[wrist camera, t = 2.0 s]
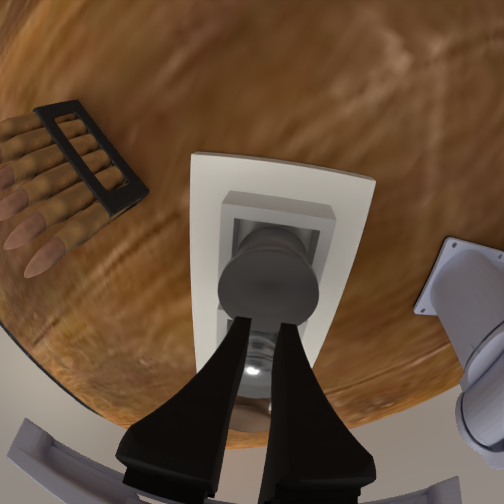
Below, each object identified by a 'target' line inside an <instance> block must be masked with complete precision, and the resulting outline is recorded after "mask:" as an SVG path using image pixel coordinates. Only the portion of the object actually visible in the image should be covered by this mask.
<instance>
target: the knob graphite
mask: <svg viewBox="0 0 504 504" xmlns="http://www.w3.org/2000/svg"><path fill="white" fill-rule="evenodd" d="M218 298H219V301H220V304H221V306H222V308H223V310H224V311H225V312H226V314H227V315H228V316H229V317H230V318H232V319H233V320H234V318H235V317H237V316H240V317H246V318H252V321H251V328H250V329H252V330H255V331H260V332H279V330H280V326H281V323H289V324H296V325H297V326H299V325H301V324H302V323H304V322H305V321H306V320H307V319H308V318H310V316H311V315H312V314H313V313H314V311H315V309H316V307H317V305H318V301H319V287H318V280H317V276H316V274H315V271H314V269H313V268H312V266H311V265H310V264H309V263H308V257H307V251H306V248H305V246H304V244H303V243H302V241H301V240H300V239H299V238H298V237H297V236H296V235H295V234H293V233H292V232H290V231H288V230H285V229H282V228H278V227H265V228H260V229H257V230H255V231H253V232H251V233H249V234H248V235H247V236H246V237H245V238H244V239H243V240H242V241H241V243H240V245H239V247H238V250H237V253H236V255H235V256H234V257H233V258H231V259H230V261H229V262H228V263H227V264H226V266H225V267H224V269H223V271H222V274H221V277H220V280H219V283H218Z"/></svg>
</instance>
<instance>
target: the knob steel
mask: <svg viewBox="0 0 504 504" xmlns="http://www.w3.org/2000/svg"><path fill="white" fill-rule="evenodd" d="M278 334H279V332H260V331H255V330H252V329H250V335H249V342H248V349H247V355H246V361H245V367H244V372H243V375H242V379H241V382H240V386H239V389H238V393H237V395H239V396H242V397H247V398H269V397H271V372H272V363H273V355H274V350H275V346H276V342H277V338H278Z"/></svg>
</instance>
